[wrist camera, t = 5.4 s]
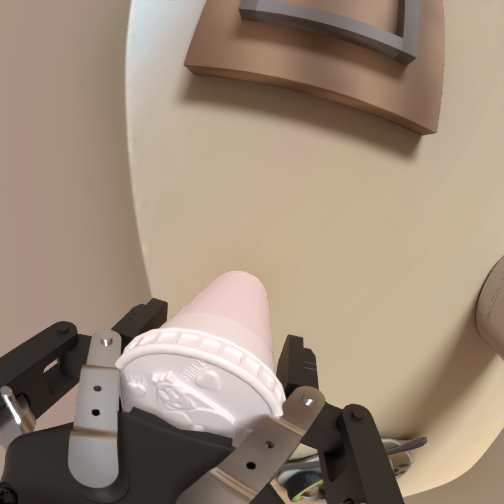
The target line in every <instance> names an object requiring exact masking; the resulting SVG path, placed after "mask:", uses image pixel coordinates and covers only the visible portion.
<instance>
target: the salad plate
mask: <svg viewBox="0 0 504 504" xmlns="http://www.w3.org/2000/svg"><path fill="white" fill-rule="evenodd" d="M381 440H382V443H383V445H384V448H385V451H386V453H387V456H388V459H389V461H390V464H391V467H392V469H393V472H394V475H395V478H396V479H398V478H399V477H401V476H402V475H403V474H405V473H406V472H407V471H408V470H409V468H410V467H411V466H412V464H413V459H412V458H411V455H410V453H409V451H408V450H412V449H415V448H418V447H421V446H423V445H424V444H425V443H426V442H427V438H426V437H421V438H416V439H412V440H396V439H392V438H381ZM277 481H278V483H279V484H280V485H281V486H282V487H284V488H285V489H287V494H288V497H289V499H290V500H291V501H292V502H296V501H298V500H302V498H305V499H307V500H310V501H314V502H327V499H326V494H325V488H324V483H323V477H322V472H321V467H320V461H319V456H318V454H315V455H311V456H308V457H305V458H302V459H299V460H296V461H293V462H289V463H286V464H284V466H283V467H282V468H281V470H280V472H279V474H278V476H277Z"/></svg>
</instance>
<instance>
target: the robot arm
mask: <svg viewBox="0 0 504 504" xmlns="http://www.w3.org/2000/svg"><path fill="white" fill-rule="evenodd" d="M167 309H168V303H167V302H165V301H162V300H159V299H156V298H152V299H151V300H150V302H148V303H147V304H146V305H144V304H140V305H138V306H135V307H133V308H132V309H131V310H130V311H129V312H128V313H127V314H126V315H125V316H124V317H123V318H122V319H121V320H120V321H119V322H118V323H117V324H116V325H115V326H114V327H113V328H112V329H111V330H106V329H105V330H99V331H97V332H95V333H94V334H93V336H87V335H82V334H78V333H77V328H76V326H75V325H74V324H73V323H70V322H65V321H61V322H57V323H55V324H53V325H51V326H50V327H48V328H46V329H45V330H43V331H42V332H40V333H38V334H37V335H35V336H34V337H32V338H30V339H29V340H27V341H26V342H24V343H22V344H21V345H19V346H18V347H16V348H15V349H13V350H11V351H10V352H8V353H7V354H5V355H4V356H2V357H1V358H0V445H1V446H2V447H3V448H4V449H5V451H6V456H5V466H4V471H3V475H2V478H1V481H0V504H285V503H284V501H283V500H282V499H281V497H280V496H279V495H278V493H277V492H276V491H275V489H274V488H273V487H272V485H271V484H270V482H271V481H272V480H273V479H274V477H275V476H276V475H277V474H278V472H279V471H280V470H281V468H282V467H283V466H284V464H285V463H286V462H287V461H288V459H289V458H290V457H291V455H292V454H293V452H294V451H295V450H296V448H297V447H298V446H299V444H300V443H302V444H304V445H307V446H309V447H312V448H315V449H317V451H318V456H319V461H320V467H321V472H322V477H323V483H324V488H325V494H326V499H327V504H404V501H403V498H402V495H401V492H400V489H399V486H398V483H397V481H396V478H395V475H394V472H393V469H392V467H391V464H390V461H389V459H388V456H387V453H386V451H385V448H384V445H383V443H382V440H381V437H380V435H379V432H378V430H377V427H376V425H375V422H374V420H373V417H372V415H371V413H370V412H369V410H368V409H366V408H365V407H363V406H361V405H358V404H350V405H347V406H345V407H344V409H340V408H338V407H335V406H332V405H330V404H328V403H327V402H326V401H325V397H324V395H323V394H322V393H321V392H320V391H319V387H318V377H317V367H316V357H315V355H314V353H313V352H312V350H311V349H308V348H304V347H303V337H298V336H294V335H289V334H288V336H287V338H286V341H285V344H284V347H283V350H282V352H281V355H280V358H279V361H278V366H277V373H276V377H277V378H278V380H279V381H280V383H281V384H282V386H283V390H284V393H285V397H286V401H285V402H284V403H283V405H282V410H283V415H282V416H275V415H271V414H270V415H269V416H268V417H267V418H266V419H265V420H264V421H263V422H262V423H261V424H260V425H259V426H258V427H257V428H256V429H255V430H254V431H253V432H252V433H251V434H250V435H249V436H248V437H247V438H246V439H245V440H244V441H243V442H242V443H241V444H240V445H239V446H238V447H237V448H236V447H234V446H232V442H233V438H229V437H225V436H221V435H217V434H213V433H209V432H201V431H190V430H182V429H178V428H176V427H175V426H173V425H171V424H169V423H168V422H166V421H164V420H163V419H161V418H160V417H158V416H156V415H154V414H151V413H149V412H146V411H144V410H141V409H139V408H136V407H134V406H133V408H132V409H131V411H130V412H125V404H124V402H123V396H122V389H121V374H120V368H118V367H116V365H115V363H116V361H117V360H118V359H119V358H120V356H121V355H122V354H123V352H124V349H125V347H126V346H127V345H128V344H129V343H130V342H131V341H132V340H133V339H134V338H135V337H136V336H138V335H141V334H143V333H145V332H148V331H150V330H152V329H159V328H160V327H161V326H162V325H163V324H164V323H165V322H167ZM476 326H477V329H478V332H479V333H480V335H481V336H482V337H483V338H484V339H485V340H486V341H487V342H488V343H489V345H490V346H491V347H492V348H493V349H494V350H495V351H496V352H497V354H498V355H499V356H500V357H501V358H502V360H503V361H504V257H503V258H502V259H501V260H500V261H499V262H498V263H497V265H496V266H495V267H494V268H493V270H492V272H491V273H490V275H489V277H488V278H487V280H486V282H485V284H484V286H483V289H482V292H481V294H480V297H479V301H478V305H477V309H476ZM56 359H57V364H55V365H54V366H53V367H51V368H50V369H49V370H47V371H46V372H45V373H43V372H44V369H45V368H46V366H47V365H49V364H50V363H52V362H53V361H54V360H56ZM77 383H79V386H78V393H77V399H76V408H75V416H74V422H71V423H67V424H64V425H60V426H56V427H52V428H48V429H44V430H39V431H35V432H34V428H35V426H36V420H37V419H38V418H39V417H40V416H41V415H42V414H43V413H44V412H46V411H47V410H48V409H49V408H50V407H51V406H52V405H54V404H55V403H56V402H57V401H58V400H59V399H60V398H61V397H63V396H64V395H65V394H66V393H67V392H68V391H70V390H71V389H72V388H73V387H74V386H75V385H76V384H77Z"/></svg>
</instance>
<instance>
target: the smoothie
mask: <svg viewBox="0 0 504 504" xmlns="http://www.w3.org/2000/svg"><path fill="white" fill-rule="evenodd" d="M115 365H116V367H118V368H120V374H121V389H122V396H123V402H124V404H125V412H130V411H131V409H132V408H133V406H134V407H136V408H139V409H141V410H144V411H146V412H149V413H151V414H154V415H156V416H158V417H160V418H161V419H163V420H164V421H166V422H168V423H169V424H171V425H173V426H175V427H176V428H178V429H182V430H190V431H201V432H209V433H213V434H217V435H221V436H225V437H229V438H233V442H232V446H234V447H236V448H237V447H238V446H239V445H240V444H241V443H242V442H243V441H244V440H245V439H246V438H247V437H248V436H249V435H250V434H251V433H252V432H253V431H254V430H255V429H256V428H257V427H258V426H259V425H260V424H261V423H262V422H263V421H264V420H265V419H266V418H267V417H268V416H269V415H270V414H271V415H275V416H282V415H283V410H282V405H283V403H284V402H285V401H286V397H285V393H284V390H283V386H282V384H281V383H280V381H279V380H278V378H277V377H276V375H275V365H274V358H273V348H272V338H271V328H270V318H269V308H268V299H267V293H266V290H265V288H264V286H263V285H262V283H261V282H260V281H259V280H258V279H257V278H256V277H254V276H253V275H251V274H249V273H246V272H242V271H230V272H226V273H224V274H222V275H220V276H219V277H217V278H216V279H215V280H214V281H213V282H212V283H210V284H209V285H208V286H207V287H206V288H205V289H204V290H202V291H201V292H200V293H199V294H198V295H197V296H196V297H194V298H193V299H192V300H191V301H190V302H189V303H188V304H186V305H185V306H184V307H183V308H182V309H181V310H180V311H178V312H177V313H176V314H175V315H174V316H173V317H171V318H170V319H169V320H168V321H167V322H165V323H164V324H163V325H162V326H161V327H160V328H159V329H152V330H150V331H148V332H145V333H143V334H141V335H138V336H136V337H135V338H134V339H133V340H132V341H131V342H130V343H129V344H128V345H127V346H126V347H125V349H124V352H123V354H122V355H121V356H120V358H119V359H118V360H117V361H116V363H115Z"/></svg>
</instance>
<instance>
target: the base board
mask: <svg viewBox="0 0 504 504" xmlns="http://www.w3.org/2000/svg"><path fill="white" fill-rule="evenodd" d="M444 48H445V32H444V8H443V0H207V1H206V4H205V6H204V9H203V11H202V14H201V16H200V19H199V21H198V24H197V27H196V30H195V32H194V35H193V38H192V41H191V44H190V47H189V50H188V53H187V56H186V59H185V62H184V66H186V67H187V68H188V69H189V70H190V71H191V72H192V73H193V74H199V75H209V76H218V77H226V78H233V79H240V80H246V81H252V82H258V83H263V84H268V85H273V86H278V87H283V88H287V89H291V90H296V91H300V92H304V93H307V94H311V95H315V96H319V97H322V98H326V99H329V100H332V101H336V102H339V103H342V104H345V105H348V106H351V107H354V108H357V109H360V110H363V111H365V112H368V113H371V114H373V115H376V116H379V117H381V118H384V119H386V120H389V121H391V122H394V123H396V124H398V125H401V126H403V127H405V128H408V129H410V130H412V131H414V132H416V133H419V134H421V135H428V134H433V133H437V127H438V120H439V113H440V105H441V97H442V86H443V73H444Z"/></svg>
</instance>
